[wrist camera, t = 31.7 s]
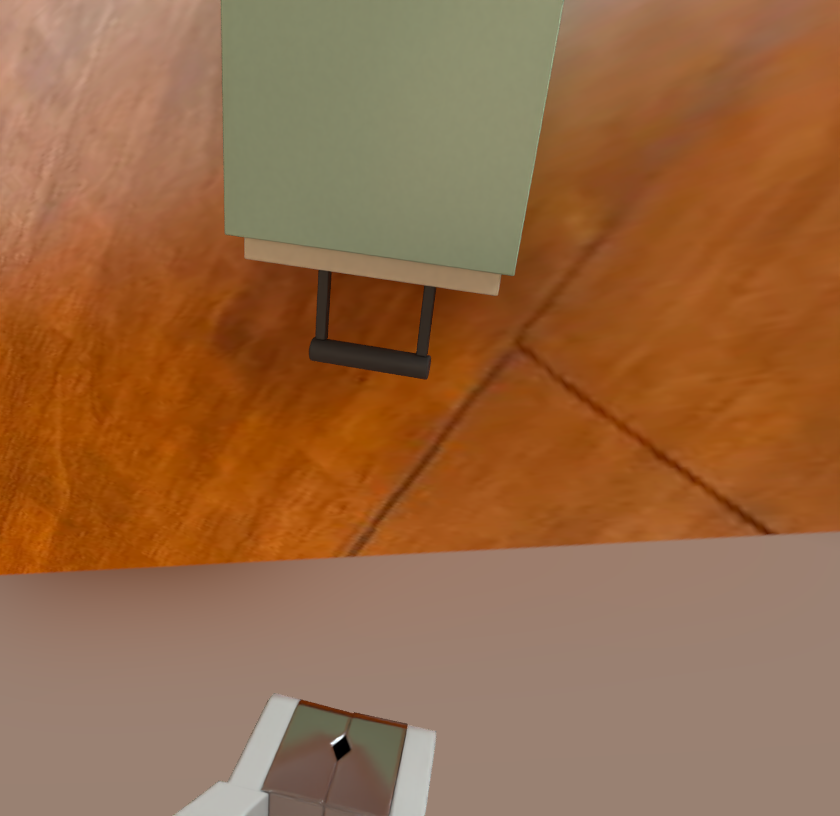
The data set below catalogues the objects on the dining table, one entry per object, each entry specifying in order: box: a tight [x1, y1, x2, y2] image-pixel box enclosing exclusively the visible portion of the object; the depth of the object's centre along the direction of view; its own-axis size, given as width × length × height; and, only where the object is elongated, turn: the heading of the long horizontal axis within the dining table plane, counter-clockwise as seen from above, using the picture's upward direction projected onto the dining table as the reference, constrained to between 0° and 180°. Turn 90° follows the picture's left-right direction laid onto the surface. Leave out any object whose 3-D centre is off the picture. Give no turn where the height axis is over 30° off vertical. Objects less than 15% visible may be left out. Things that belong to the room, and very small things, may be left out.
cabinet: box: [221, 0, 564, 276], centre depth 28 cm, size 17×15×9 cm
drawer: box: [244, 237, 501, 379], centre depth 29 cm, size 21×13×7 cm, turn 173°
